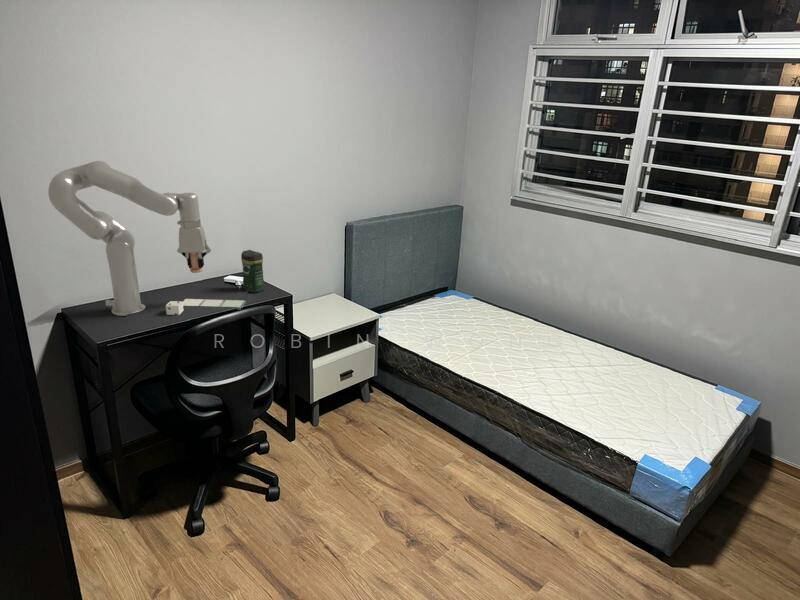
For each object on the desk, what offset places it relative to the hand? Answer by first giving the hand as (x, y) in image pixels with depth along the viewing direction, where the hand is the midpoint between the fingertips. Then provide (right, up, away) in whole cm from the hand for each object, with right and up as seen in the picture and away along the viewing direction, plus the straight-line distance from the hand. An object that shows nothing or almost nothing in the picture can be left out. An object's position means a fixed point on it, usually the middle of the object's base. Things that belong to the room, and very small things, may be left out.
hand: (196, 267), depth 232 cm
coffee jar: (+17, -9, +26) cm, 32 cm away
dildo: (0, -2, +1) cm, 2 cm away
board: (+5, -16, +6) cm, 18 cm away
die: (-6, -20, -6) cm, 22 cm away
